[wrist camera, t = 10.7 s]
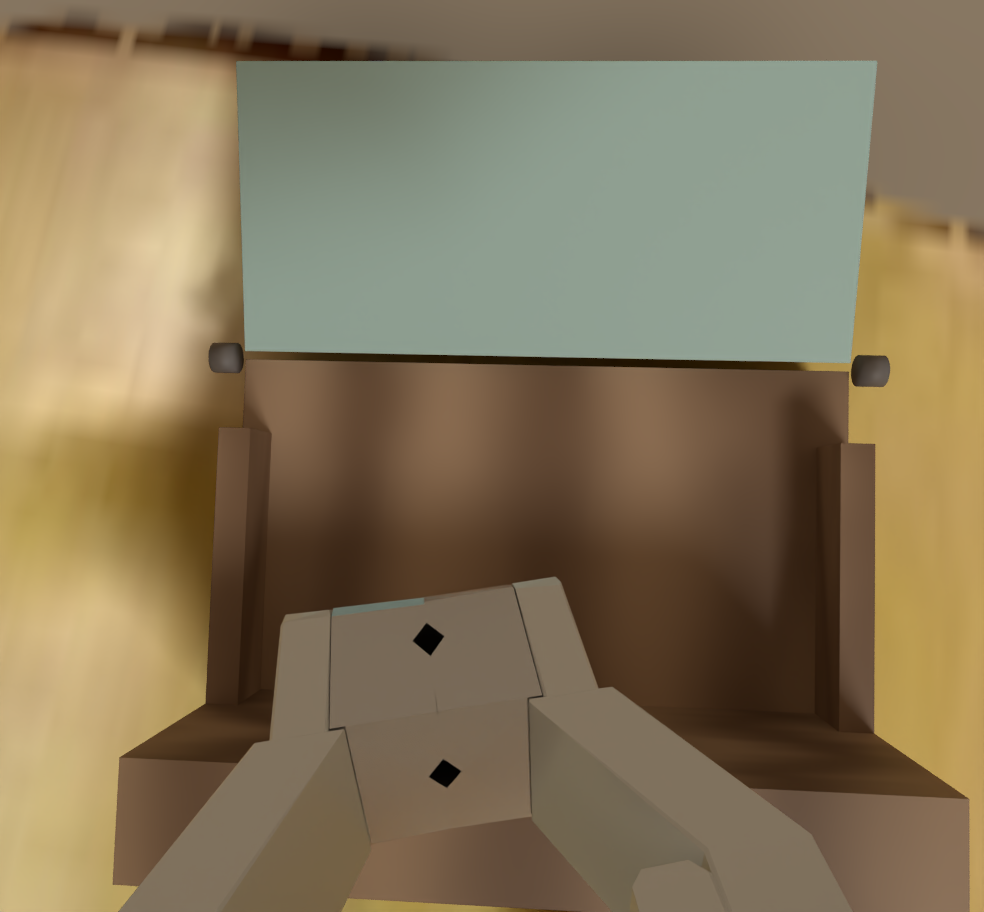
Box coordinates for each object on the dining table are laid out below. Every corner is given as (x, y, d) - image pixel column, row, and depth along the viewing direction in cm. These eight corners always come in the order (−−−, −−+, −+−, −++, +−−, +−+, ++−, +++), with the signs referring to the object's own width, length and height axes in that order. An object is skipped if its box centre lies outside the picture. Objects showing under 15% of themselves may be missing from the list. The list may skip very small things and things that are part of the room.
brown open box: (231, 749, 29) (72, 882, 19) (249, 359, 30) (106, 289, 20) (841, 778, 28) (1014, 936, 18) (843, 371, 28) (1011, 303, 18)
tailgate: (245, 350, 26) (235, 61, 24) (262, 350, 27) (254, 77, 26) (850, 362, 25) (877, 60, 23) (831, 361, 26) (856, 78, 25)
